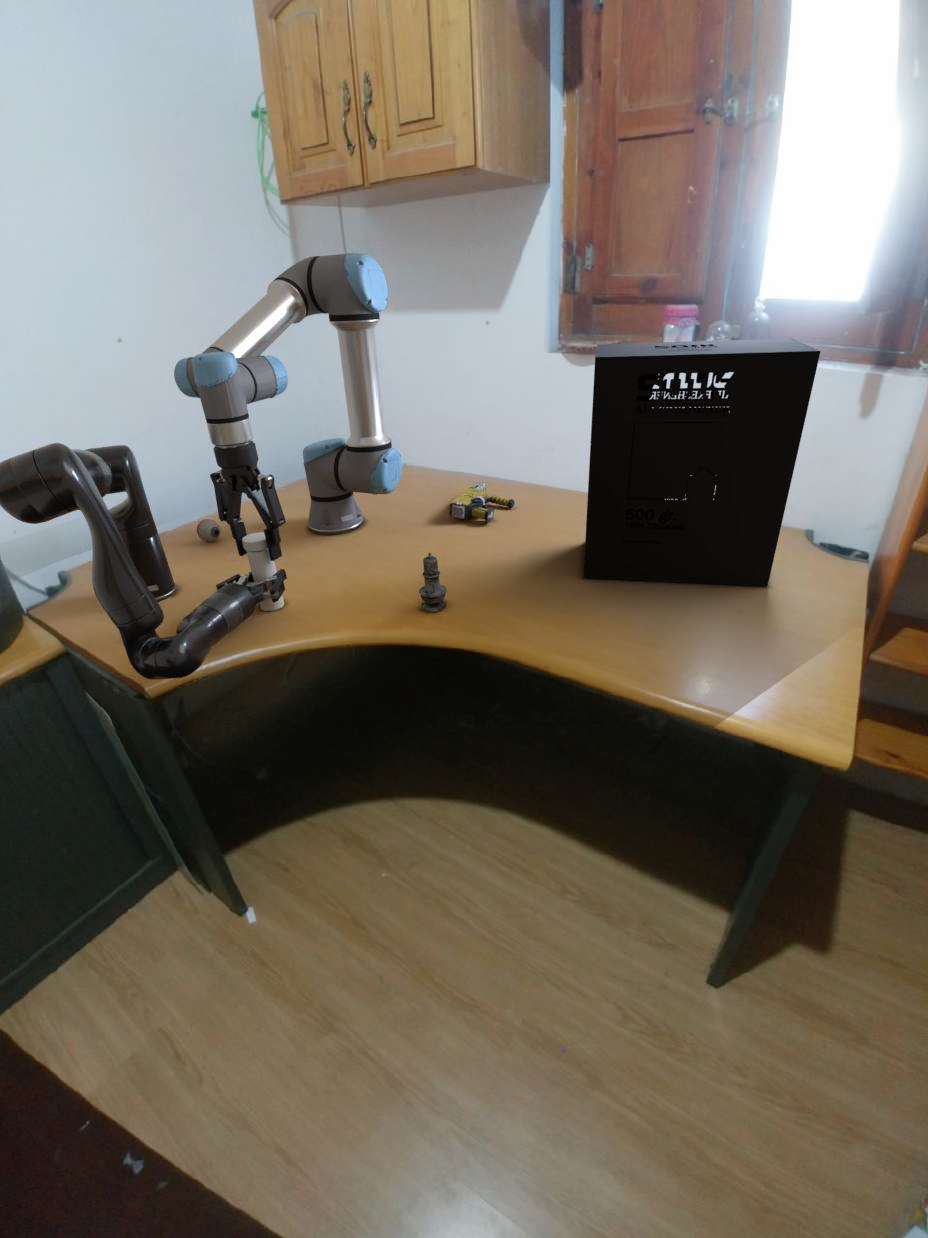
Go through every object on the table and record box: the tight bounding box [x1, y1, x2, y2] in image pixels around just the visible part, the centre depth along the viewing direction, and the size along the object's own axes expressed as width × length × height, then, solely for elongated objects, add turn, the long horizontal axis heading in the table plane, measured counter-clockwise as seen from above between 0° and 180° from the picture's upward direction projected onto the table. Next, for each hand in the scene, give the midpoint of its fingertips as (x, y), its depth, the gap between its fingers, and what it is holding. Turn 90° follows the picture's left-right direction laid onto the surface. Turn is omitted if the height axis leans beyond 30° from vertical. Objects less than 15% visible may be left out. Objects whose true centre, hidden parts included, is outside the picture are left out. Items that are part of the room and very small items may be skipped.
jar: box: [246, 548, 285, 612], centre depth 126 cm, size 5×5×15 cm
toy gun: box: [448, 481, 515, 523], centre depth 173 cm, size 5×24×15 cm
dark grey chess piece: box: [417, 551, 448, 613], centre depth 122 cm, size 6×6×12 cm
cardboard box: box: [583, 337, 821, 587], centre depth 126 cm, size 38×20×45 cm, turn 78°
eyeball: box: [196, 518, 222, 543], centre depth 162 cm, size 6×6×6 cm
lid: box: [242, 531, 268, 551], centre depth 122 cm, size 6×6×2 cm
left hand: (272, 572), depth 128 cm, fingers closed on jar, 5 cm apart
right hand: (260, 555), depth 124 cm, fingers open, 7 cm apart
